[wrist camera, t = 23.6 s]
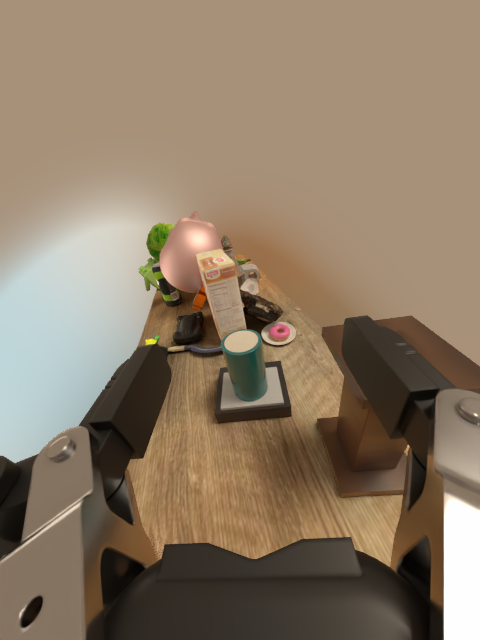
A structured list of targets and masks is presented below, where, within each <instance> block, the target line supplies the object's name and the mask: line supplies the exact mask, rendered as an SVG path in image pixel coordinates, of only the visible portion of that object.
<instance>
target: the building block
mask: <svg viewBox="0 0 480 640" xmlns="http://www.w3.org/2000/svg"><path fill="white" fill-rule="evenodd" d="M206 298H207V295H206V292H205V288H204V285H203V282H202V284H201V286H200V288H199V290H198V292H197V294H196V296H195V298H194V300H193V304H192V307H193V309H195V310H197V311H199V312H200V311H201V309H202V307H203V305H204V302H205V301H206ZM192 307H191V308H192Z"/></svg>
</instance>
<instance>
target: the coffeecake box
mask: <svg viewBox="0 0 480 640" xmlns="http://www.w3.org/2000/svg"><path fill="white" fill-rule="evenodd" d="M195 256H196V259H197V263H198V267H199V270H200V274H201V277H202V281H203V285H204V288H205V292H206V295H207V299H208V302H209V306H210V309H211V313H212V316H213V320H214V323H215V326H216V329H217V331H218V334H219V337H220V340H221V342H222V340H223V338H224V337H225V336H226V335H228V334H229V333H231V332H233V331H236V330H240V329H247V328H246V323H245V317H244V312H243V306H242V301H241V295H240V290H239V285H238V279H237V274H236V268H235V263H234V262H233V261H232V260H231V259H230V258H229V257H228V256H227V255H226V254H225V253H224V252H223V251H222V250H221V249H217V250H212V251H207V252H202V253H198V254H196V255H195Z"/></svg>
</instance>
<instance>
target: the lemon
mask: <svg viewBox="0 0 480 640" xmlns="http://www.w3.org/2000/svg"><path fill="white" fill-rule="evenodd" d="M158 340H159V335H158V336H156V337H155V338H154V339H149V340H146V341H145V342H146V345H150V344H157V343H158ZM135 350H136V349H135Z"/></svg>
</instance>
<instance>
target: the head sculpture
mask: <svg viewBox="0 0 480 640" xmlns="http://www.w3.org/2000/svg"><path fill="white" fill-rule="evenodd" d="M217 249H221V250H222V251H223V252H224V250H223V247H222V244H221V241H220V238H219V236H218V234H217V232H216V229H215V227H214V226H213V224H211V223H209V222H204V221H201V220H200V217H199V214H198V213H197V211H194V212H193V213H192V215H191V217H190V218H181V219H180V220H179V221H178V222H177V224H176V225H175V227H174V228H173V229H172V230H170V231H169V236H168V239H167V241H166V243H165V245H164V247H163V248H162V250H161V252H160V268H161V271H162V274H163V275H164V277H165V278H166V280H167V281H168V282H169V283H170V284H171V285H172V286H174V287H175V288H177V289H179V290H181V291H184V292H189V293H197V292H198V290H199V288H200V286H201V284H202V282H203V281H202V277H201V274H200V270H199V267H198V263H197V259H196V256H195V255H196V254H198V253H202V252H207V251H212V250H217Z"/></svg>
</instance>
